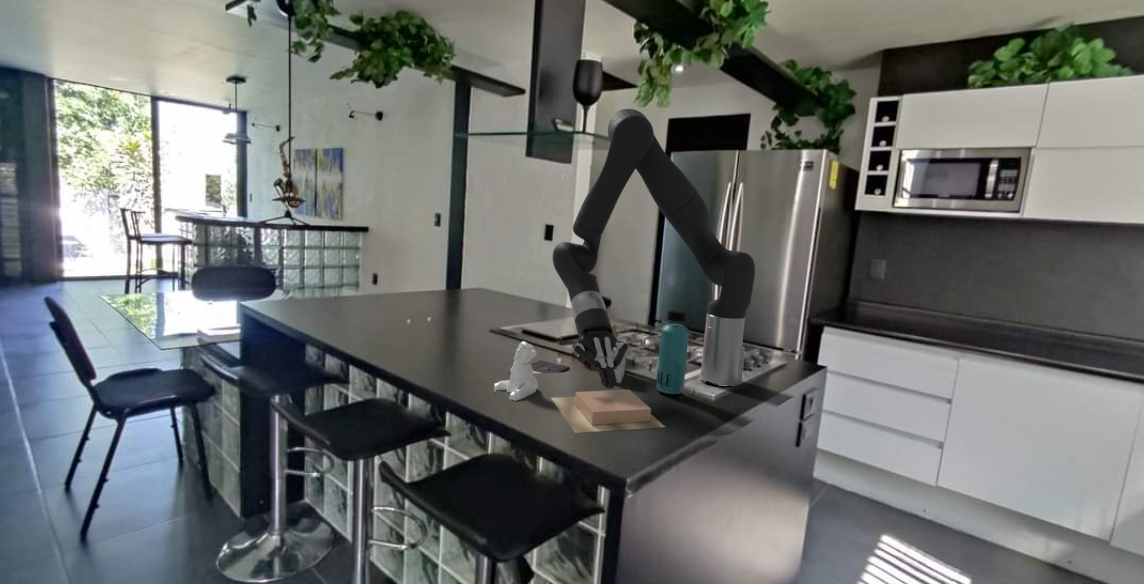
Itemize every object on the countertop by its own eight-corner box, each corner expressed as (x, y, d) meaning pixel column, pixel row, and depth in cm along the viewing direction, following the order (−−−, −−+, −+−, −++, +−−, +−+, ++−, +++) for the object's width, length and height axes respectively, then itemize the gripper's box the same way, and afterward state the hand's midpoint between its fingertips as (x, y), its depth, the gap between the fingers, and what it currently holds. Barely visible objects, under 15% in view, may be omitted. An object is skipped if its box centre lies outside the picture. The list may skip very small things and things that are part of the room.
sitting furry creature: (490, 391, 117) (493, 338, 116) (524, 385, 123) (526, 334, 121) (512, 405, 110) (514, 349, 108) (546, 398, 115) (549, 344, 113)
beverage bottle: (685, 393, 123) (693, 309, 120) (681, 402, 117) (689, 314, 114) (657, 389, 126) (664, 306, 122) (652, 397, 119) (659, 310, 116)
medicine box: (620, 386, 126) (623, 351, 125) (602, 384, 127) (604, 349, 125) (624, 376, 134) (626, 343, 132) (606, 374, 134) (609, 341, 133)
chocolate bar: (569, 366, 137) (532, 384, 122) (569, 370, 137) (531, 388, 122) (539, 360, 141) (500, 377, 126) (539, 363, 142) (499, 380, 126)
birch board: (628, 397, 118) (628, 394, 118) (664, 430, 101) (665, 426, 101) (550, 401, 113) (550, 397, 113) (575, 436, 96) (575, 432, 96)
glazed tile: (629, 389, 113) (651, 408, 103) (628, 401, 114) (649, 422, 103) (575, 392, 110) (592, 412, 99) (574, 404, 110) (591, 425, 100)
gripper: (611, 324, 123) (632, 392, 114) (558, 325, 118) (575, 397, 109) (623, 306, 117) (646, 376, 108) (568, 307, 113) (586, 380, 103)
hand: (610, 386), depth 108 cm, fingers closed
